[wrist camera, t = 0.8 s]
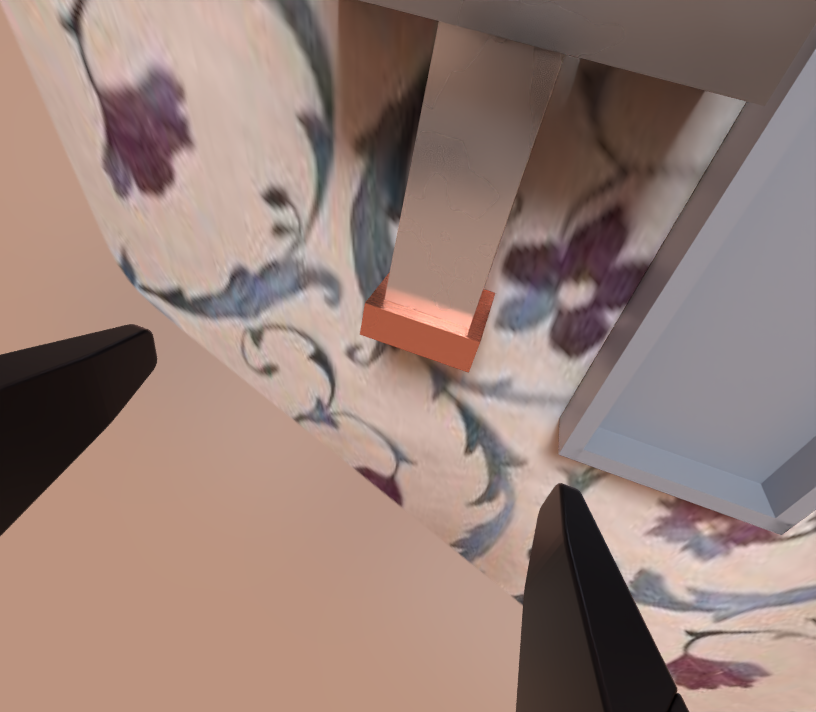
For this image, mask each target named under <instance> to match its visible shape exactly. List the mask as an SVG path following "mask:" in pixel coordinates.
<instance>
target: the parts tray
mask: <svg viewBox="0 0 816 712" xmlns="http://www.w3.org/2000/svg"><path fill="white" fill-rule="evenodd" d="M559 455H561V456H564V457H567V458H570V459H572V460H575V461H578V462H581V463H583V464H586V465H589V466H592V467H595V468H597V469H600V470H603V471H606V472H608V473H611V474H614V475H617V476H619V477H622V478H625V479H628V480H631V481H633V482H636V483H639V484H642V485H644V486H647V487H650V488H653V489H655V490H658V491H661V492H664V493H666V494H669V495H672V496H675V497H678V498H680V499H683V500H686V501H689V502H691V503H694V504H697V505H700V506H702V507H705V508H708V509H711V510H714V511H716V512H719V513H722V514H725V515H727V516H730V517H733V518H736V519H738V520H741V521H744V522H747V523H750V524H752V525H755V526H758V527H761V528H763V529H766V530H769V531H772V532H774V533H777V534H780V535H782V534H784V533H785V532H787V531H788V530H789V529H791V528H792V527H793V526H795V525H796V524H797V523H799V522H800V521H801V520H803V519H804V518H805V517H807V516H808V515H809V514H811V513H812V512H813V511H815V510H816V24H815V26H814V27H813V29H812V30H811V32H810V34H809V35H808V37H807V39H806V40H805V42H804V43H803V45H802V47H801V48H800V50H799V52H798V53H797V55H796V56H795V58H794V60H793V61H792V63H791V64H790V66H789V68H788V69H787V71H786V73H785V74H784V76H783V77H782V79H781V81H780V82H779V84H778V86H777V87H776V89H775V90H774V92H773V94H772V95H771V97H770V99H769V100H768V102H767V103H766V105H765V106H762V105H759V104H755V103H751V102H746V104H745V106H744V107H743V109H742V111H741V112H740V114H739V116H738V118H737V119H736V121H735V123H734V124H733V126H732V128H731V129H730V131H729V133H728V134H727V136H726V138H725V140H724V141H723V143H722V145H721V146H720V148H719V150H718V151H717V153H716V155H715V156H714V158H713V160H712V162H711V163H710V165H709V167H708V168H707V170H706V172H705V173H704V175H703V177H702V178H701V180H700V182H699V184H698V185H697V187H696V189H695V190H694V192H693V194H692V195H691V197H690V199H689V200H688V202H687V204H686V206H685V207H684V209H683V211H682V212H681V214H680V216H679V217H678V219H677V221H676V222H675V224H674V226H673V228H672V229H671V231H670V233H669V234H668V236H667V238H666V239H665V241H664V243H663V244H662V246H661V248H660V250H659V251H658V253H657V255H656V256H655V258H654V260H653V261H652V263H651V265H650V266H649V268H648V270H647V272H646V273H645V275H644V277H643V278H642V280H641V282H640V283H639V285H638V287H637V288H636V290H635V292H634V294H633V295H632V297H631V299H630V300H629V302H628V304H627V305H626V307H625V309H624V310H623V312H622V314H621V316H620V317H619V319H618V321H617V322H616V324H615V326H614V327H613V329H612V331H611V332H610V334H609V336H608V338H607V339H606V341H605V343H604V344H603V346H602V348H601V349H600V351H599V353H598V354H597V356H596V358H595V360H594V361H593V363H592V365H591V366H590V368H589V370H588V371H587V373H586V375H585V376H584V378H583V380H582V382H581V383H580V385H579V387H578V388H577V390H576V392H575V393H574V395H573V397H572V398H571V400H570V402H569V404H568V405H567V407H566V409H565V410H564V412H563V414H562V415H561V417H560V421H559Z"/></svg>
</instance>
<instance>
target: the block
mask: <svg viewBox="0 0 816 712" xmlns="http://www.w3.org/2000/svg"><path fill="white" fill-rule="evenodd" d="M360 1H364V2H367V3H371V4H375V5H379V6H383V7H387V8H390V9H394V10H398V11H402V12H406V13H410V14H413V15H417V16H421V17H425V18H429V19H433V20H436V21H440V22H444V23H448V24H452V25H456V26H459V27H463V28H467V29H471V30H475V31H479V32H482V33H486V34H490V35H494V36H498V37H502V38H505V39H509V40H513V41H517V42H521V43H525V44H528V45H532V46H536V47H540V48H544V49H548V50H551V51H555V52H559V53H563V54H567V55H571V56H574V57H578V58H582V59H586V60H590V61H594V62H597V63H601V64H605V65H609V66H613V67H617V68H620V69H624V70H628V71H632V72H636V73H640V74H643V75H647V76H651V77H655V78H659V79H663V80H667V81H670V82H674V83H678V84H682V85H686V86H690V87H693V88H697V89H701V90H705V91H709V92H713V93H716V94H720V95H724V96H728V97H732V98H736V99H739V100H743V101H747V102H751V103H755V104H759V105H762V106H765V105H766V103H767V102H768V100H769V99H770V97H771V95H772V94H773V92H774V90H775V89H776V87H777V86H778V84H779V82H780V81H781V79H782V77H783V76H784V74H785V73H786V71H787V69H788V68H789V66H790V64H791V63H792V61H793V60H794V58H795V56H796V55H797V53H798V52H799V50H800V48H801V47H802V45H803V43H804V42H805V40H806V39H807V37H808V35H809V34H810V32H811V30H812V29H813V27H814V26H815V24H816V0H360Z"/></svg>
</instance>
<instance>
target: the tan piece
mask: <svg viewBox="0 0 816 712" xmlns="http://www.w3.org/2000/svg"><path fill="white" fill-rule="evenodd" d="M564 56H565V54H563V53H559V52H555V51H551V50H548V49H544V48H540V47H536V46H532V45H528V44H525V43H521V42H517V41H513V40H509V39H505V38H502V37H498V36H494V35H490V34H486V33H482V32H479V31H475V30H471V29H467V28H463V27H459V26H456V25H452V24H448V23H444V22H440V21H439V23H438V28H437V33H436V39H435V44H434V49H433V54H432V59H431V64H430V69H429V74H428V79H427V85H426V90H425V95H424V100H423V105H422V110H421V115H420V120H419V126H418V131H417V136H416V141H415V146H414V151H413V156H412V161H411V166H410V172H409V177H408V182H407V187H406V192H405V197H404V202H403V207H402V213H401V218H400V223H399V228H398V233H397V238H396V243H395V248H394V253H393V259H392V264H391V269H390V272H389V274H388V275H387V276H386V277H385V279H384V280H383V281H382V282H381V284H380V285H379V286H378V287H377V289H376V290H375V291H374V293H373V294H372V295H371V296H370V298H369V299H368V300H367V301H366V303H365V307H364V313H363V319H362V325H361V331H360V335H363V336H366V337H369V338H372V339H374V340H377V341H380V342H383V343H386V344H389V345H392V346H394V347H397V348H400V349H403V350H406V351H409V352H412V353H414V354H417V355H420V356H423V357H426V358H429V359H432V360H434V361H437V362H440V363H443V364H446V365H449V366H451V367H454V368H457V369H460V370H463V371H466V372H469V370H470V368H471V365H472V362H473V360H474V357H475V354H476V352H477V349H478V346H479V344H480V341H481V338H482V334H483V331H484V328H485V325H486V321H487V318H488V315H489V312H490V308H491V305H492V302H493V299H494V295H495V293H494V292H490V291H487V290H484V286H485V283H486V280H487V277H488V274H489V272H490V269H491V266H492V263H493V260H494V257H495V254H496V251H497V249H498V246H499V243H500V240H501V237H502V234H503V231H504V229H505V226H506V223H507V220H508V217H509V214H510V211H511V208H512V206H513V203H514V200H515V197H516V194H517V191H518V188H519V185H520V183H521V180H522V177H523V174H524V171H525V168H526V165H527V163H528V160H529V157H530V154H531V151H532V148H533V145H534V142H535V140H536V137H537V134H538V131H539V128H540V125H541V122H542V120H543V117H544V114H545V111H546V108H547V105H548V102H549V99H550V97H551V94H552V91H553V88H554V85H555V82H556V79H557V77H558V74H559V71H560V68H561V65H562V62H563V59H564Z"/></svg>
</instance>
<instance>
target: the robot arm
mask: <svg viewBox="0 0 816 712" xmlns="http://www.w3.org/2000/svg"><path fill="white" fill-rule="evenodd" d="M156 364H157V354H156V349H155V343H154V338H153V334H152V332H151V331H150V330H148V329H145V328H143V327H140V326H138V325H134V324H129V325H124V326H120V327H116V328H112V329H107V330H103V331H99V332H95V333H90V334H86V335H82V336H78V337H73V338H69V339H65V340H61V341H56V342H53V343H48V344H44V345H39V346H35V347H31V348H27V349H23V350H18V351H14V352H10V353H6V354H1V355H0V536H1V535H2V534H3V533H4V532H5V531H6V530H7V529H8V528H9V527H10V526H11V525H12V524H13V523H14V522H15V521H16V520H17V518H19V517H20V516H21V515H22V514H23V512H24V511H26V510H27V509H28V508H29V507H30V505H31V504H32V503H33V502H34V501H35V500H36V499H37V498H38V497H39V496H40V495H41V494H42V493H43V492H44V491H45V490H46V489H47V488H48V487H49V486H50V485H51V484H52V483H53V482H54V481H55V480H56V479H57V478H58V477H59V476H60V475H61V474H62V473H63V472H64V471H65V470H66V469H67V468H68V467H69V466H70V464H72V463H73V461H75V459H76V458H77V457H78V456H79V455H80V454H81V453H82V452H83V451H84V450H85V449H86V448H87V447H88V446H89V445H90V444H91V443H92V442H93V441H94V440H95V439H96V438H97V437H98V436H99V435H100V434H101V433H102V432H103V431H104V430H105V429H106V428H107V427H108V426H109V424H110V423H111V422H112V421H113V420H114V418H115V417H116V416H117V415H118V414H119V413H120V411H121V410H122V409H123V408H124V406H125V405H126V404H127V403H128V401H129V400H130V399H131V398H132V396H133V395H134V394H135V393H136V391H137V390H138V389H139V388H140V386H141V385H142V384H143V382H144V381H145V380H146V379H147V377H148V376H149V375H150V374H151V372H152V371H153V370H154V368H155V366H156ZM520 645H521V646H520V659H519V673H518V688H517V703H516V712H689V710H688V708H687V706H686V704H685V702H684V700H683V698H682V696H681V695H680V694H679V693H677V687H676V685H675V682H674V680H673V678H672V676H671V674H670V672H669V670H668V668H667V666H666V664H665V662H664V660H663V658H662V656H661V654H660V652H659V650H658V648H657V646H656V644H655V642H654V640H653V638H652V636H651V634H650V632H649V630H648V628H647V626H646V624H645V622H644V620H643V618H642V615H641V613H640V611H639V609H638V607H637V605H636V603H635V601H634V599H633V597H632V595H631V593H630V591H629V589H628V587H627V585H626V583H625V581H624V579H623V577H622V575H621V573H620V571H619V569H618V567H617V565H616V563H615V561H614V559H613V557H612V555H611V553H610V551H609V548H608V546H607V544H606V542H605V540H604V538H603V536H602V534H601V532H600V530H599V528H598V526H597V524H596V522H595V520H594V518H593V516H592V514H591V512H590V510H589V508H588V506H587V504H586V502H585V500H584V498H583V496H582V494H581V492H580V491H579V490H578V489H576V488H573V487H570V486H568V485H565V484H562V483H559V484H557V485H556V486H555V487H554V488H553V490H552V491H551V493H550V494H549V496H548V497H547V499H546V500H545V502H544V503H543V504H542V506H541V508H540V511H539V514H538V518H537V524H536V529H535V534H534V540H533V545H532V550H531V556H530V561H529V566H528V572H527V577H526V583H525V590H524V600H523V614H522V629H521V644H520Z"/></svg>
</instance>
